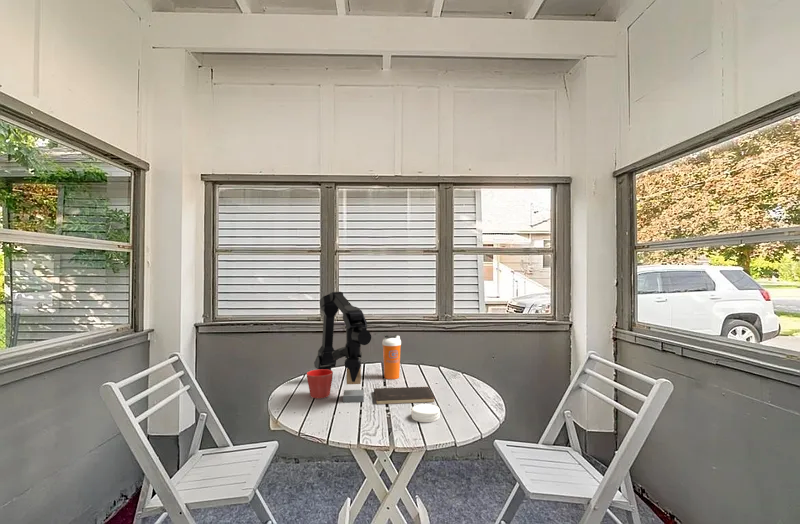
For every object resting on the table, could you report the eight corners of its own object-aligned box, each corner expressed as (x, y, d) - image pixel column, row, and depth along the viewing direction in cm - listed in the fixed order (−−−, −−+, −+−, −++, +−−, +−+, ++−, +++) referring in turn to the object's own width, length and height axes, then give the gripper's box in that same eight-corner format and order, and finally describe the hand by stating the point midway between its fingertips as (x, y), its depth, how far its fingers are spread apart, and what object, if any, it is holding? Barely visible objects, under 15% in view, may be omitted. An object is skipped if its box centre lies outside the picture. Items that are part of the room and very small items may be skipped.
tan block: (347, 380, 182) (347, 367, 182) (360, 380, 183) (360, 366, 183) (346, 384, 177) (346, 370, 177) (360, 384, 177) (360, 370, 177)
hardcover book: (435, 403, 176) (435, 397, 175) (376, 405, 173) (376, 400, 173) (428, 391, 191) (428, 386, 191) (374, 393, 189) (374, 388, 189)
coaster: (422, 411, 166) (422, 401, 166) (445, 417, 160) (445, 407, 160) (405, 418, 158) (405, 408, 158) (428, 425, 152) (428, 415, 152)
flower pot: (300, 397, 182) (300, 373, 182) (317, 390, 191) (317, 367, 191) (321, 401, 177) (321, 376, 177) (338, 394, 186) (338, 370, 186)
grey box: (344, 396, 184) (344, 390, 184) (363, 395, 184) (363, 389, 184) (343, 402, 176) (343, 396, 176) (363, 401, 176) (363, 395, 176)
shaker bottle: (379, 376, 214) (379, 334, 214) (396, 374, 218) (396, 332, 218) (386, 380, 206) (386, 337, 206) (404, 378, 210) (404, 335, 210)
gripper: (334, 337, 188) (335, 374, 189) (331, 345, 170) (331, 387, 170) (361, 336, 189) (361, 373, 189) (360, 345, 171) (361, 386, 171)
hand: (353, 379), depth 180 cm, fingers closed on tan block, 5 cm apart
